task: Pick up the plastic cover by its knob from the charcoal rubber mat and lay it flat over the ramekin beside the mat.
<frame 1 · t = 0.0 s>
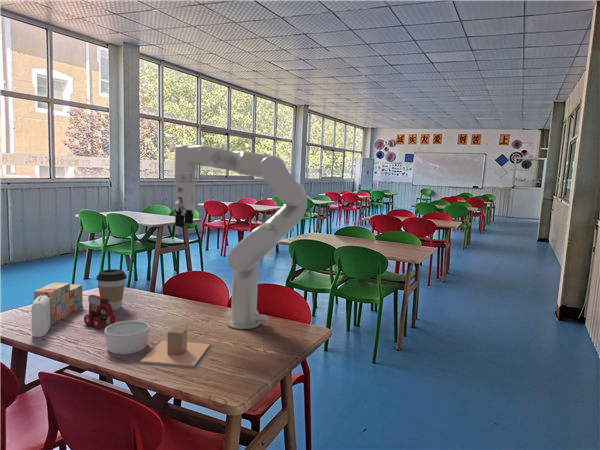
hand: (184, 224, 160), 37 cm above the table, tool pointing down, fingers open, 9 cm apart
ramekin: (127, 349, 135), on the table
mat: (177, 355, 132), on the table
stack of blocks: (60, 315, 163), on the table
photo printer: (41, 332, 145), on the table
toy fire truck: (100, 325, 154), on the table
cover: (177, 353, 132), resting on mat
coffee cup: (111, 308, 174), on the table
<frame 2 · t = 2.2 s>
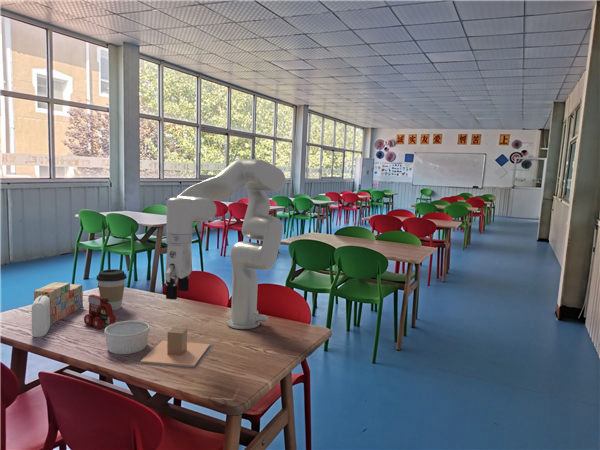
hand: (177, 294, 130), 19 cm above the table, tool pointing down, fingers open, 9 cm apart
nothing on the table moved.
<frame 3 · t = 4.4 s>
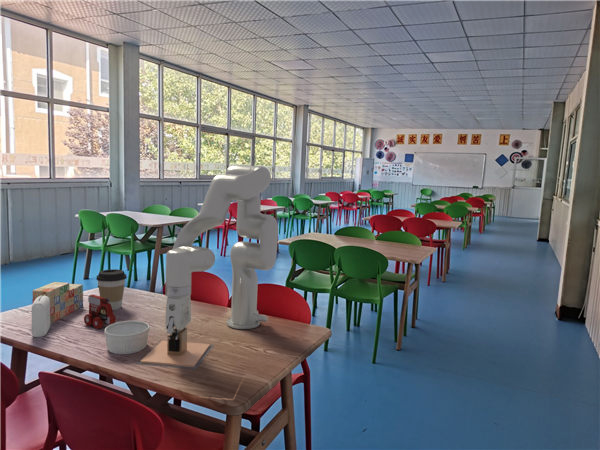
hand: (177, 347, 132), 3 cm above the table, tool pointing down, fingers closed on cover, 4 cm apart
cover: (177, 353, 132), resting on mat, touching gripper
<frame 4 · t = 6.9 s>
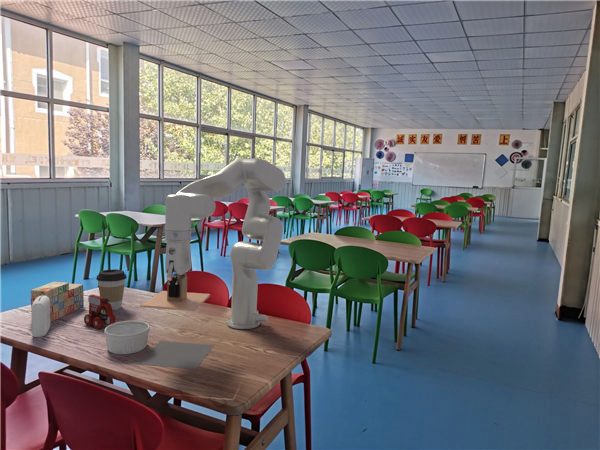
hand: (177, 294, 130), 19 cm above the table, tool pointing down, fingers closed on cover, 4 cm apart
cover: (177, 301, 130), point 17 cm above the table, touching gripper
when the fingers open (11 cm above the table, at t = 9.8 s): cover drops 2 cm, resting on ramekin.
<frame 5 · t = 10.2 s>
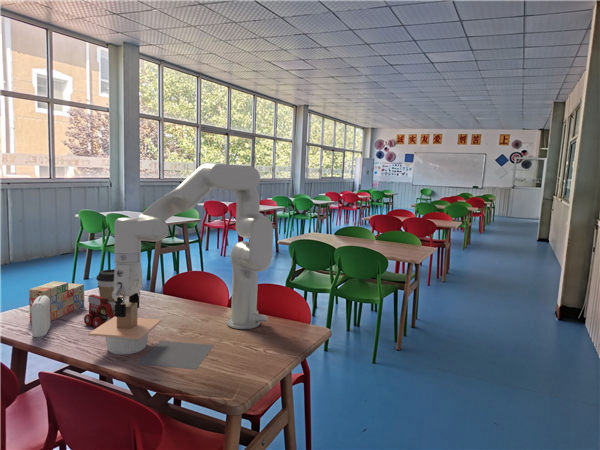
hand: (127, 311, 134), 12 cm above the table, tool pointing down, fingers open, 8 cm apart
ramekin: (127, 349, 135), on the table, touching cover
cover: (127, 327, 134), point 7 cm above the table, touching ramekin
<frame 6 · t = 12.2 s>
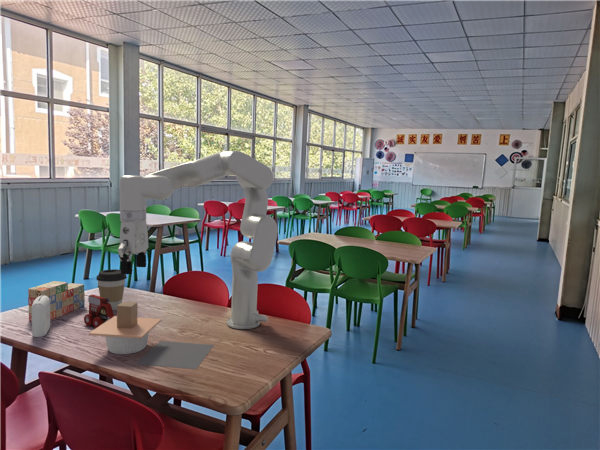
hand: (134, 270, 133), 25 cm above the table, tool pointing down, fingers open, 9 cm apart
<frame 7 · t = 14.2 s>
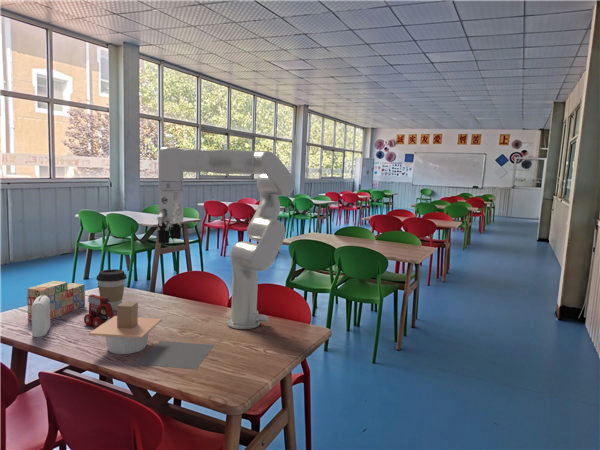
hand: (169, 240, 137), 34 cm above the table, tool pointing down, fingers open, 9 cm apart
at the end: cover 0.1 cm off-centre on the ramekin, point 7.1 cm above the ramekin's base; cover tilted 0°; the gripper is holding nothing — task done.
